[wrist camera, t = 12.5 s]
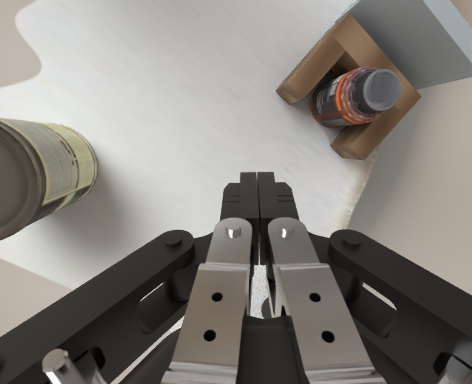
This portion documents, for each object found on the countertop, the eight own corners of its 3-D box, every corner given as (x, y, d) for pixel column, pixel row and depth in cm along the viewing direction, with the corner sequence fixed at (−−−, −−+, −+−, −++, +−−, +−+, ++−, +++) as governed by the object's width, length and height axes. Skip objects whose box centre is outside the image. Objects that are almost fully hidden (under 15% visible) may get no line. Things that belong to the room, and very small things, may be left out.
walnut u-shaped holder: (275, 90, 38) (288, 82, 32) (327, 30, 37) (349, 12, 32) (342, 157, 40) (364, 160, 35) (391, 102, 40) (421, 96, 35)
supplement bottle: (354, 121, 40) (414, 114, 29) (314, 132, 40) (359, 129, 29) (347, 77, 39) (407, 52, 28) (305, 87, 38) (349, 66, 27)
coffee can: (78, 219, 38) (9, 265, 24) (-5, 182, 35) (-133, 209, 22) (112, 148, 37) (62, 153, 23) (29, 106, 35) (-81, 84, 21)
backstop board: (335, 22, 37) (398, -32, 26) (345, 9, 37) (413, -50, 26) (397, 93, 40) (480, 74, 28) (407, 82, 40) (494, 59, 28)
